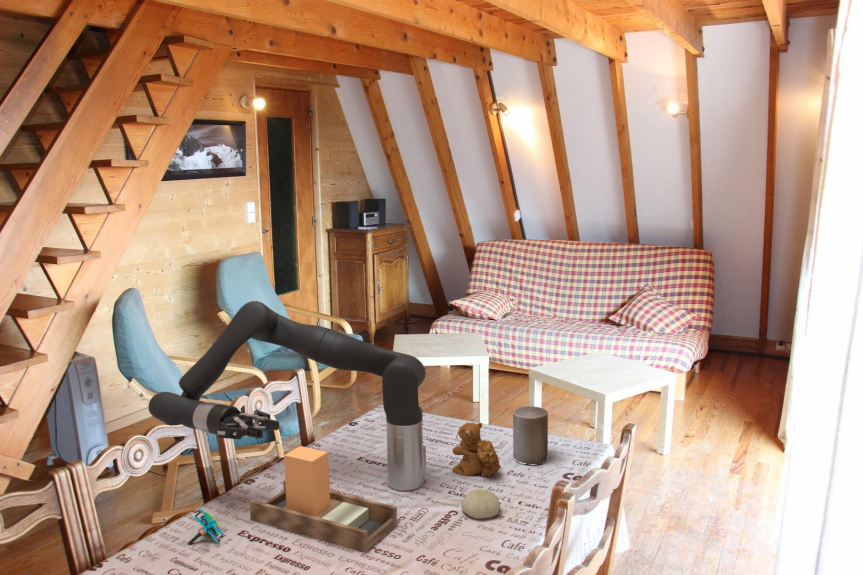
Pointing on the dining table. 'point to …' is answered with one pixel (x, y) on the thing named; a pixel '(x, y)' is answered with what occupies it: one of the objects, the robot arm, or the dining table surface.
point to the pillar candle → (530, 435)
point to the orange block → (307, 480)
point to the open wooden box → (331, 519)
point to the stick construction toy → (206, 527)
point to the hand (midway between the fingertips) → (269, 429)
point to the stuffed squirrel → (475, 452)
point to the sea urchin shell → (480, 504)
